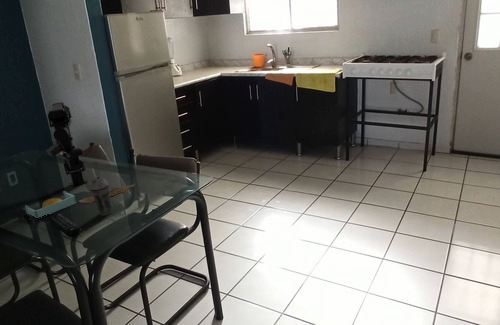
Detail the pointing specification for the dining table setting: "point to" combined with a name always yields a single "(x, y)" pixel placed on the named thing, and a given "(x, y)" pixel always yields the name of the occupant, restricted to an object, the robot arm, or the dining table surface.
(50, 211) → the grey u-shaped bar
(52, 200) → the bread roll
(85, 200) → the brown carved slab
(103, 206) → the beverage cup
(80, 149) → the robot arm
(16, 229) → the dining table surface
